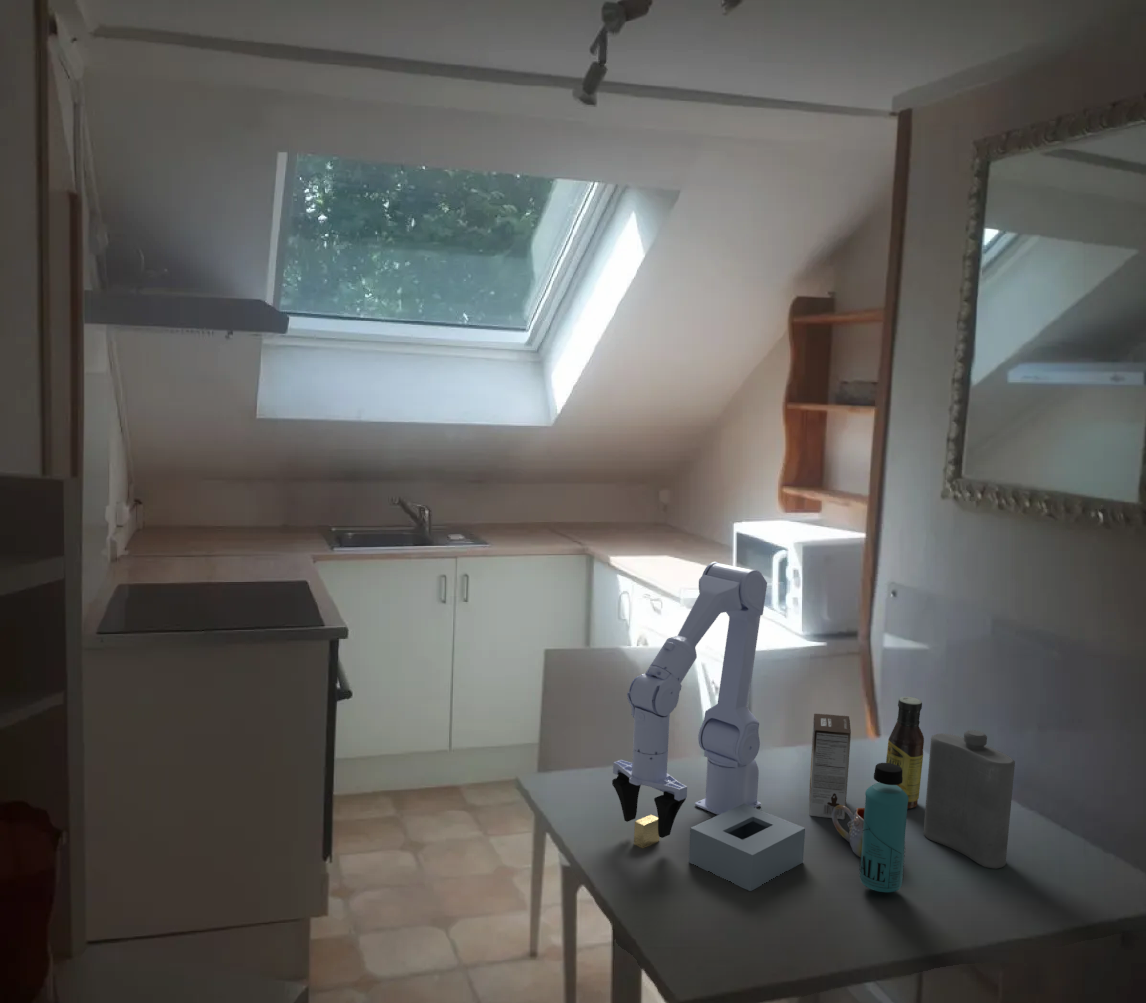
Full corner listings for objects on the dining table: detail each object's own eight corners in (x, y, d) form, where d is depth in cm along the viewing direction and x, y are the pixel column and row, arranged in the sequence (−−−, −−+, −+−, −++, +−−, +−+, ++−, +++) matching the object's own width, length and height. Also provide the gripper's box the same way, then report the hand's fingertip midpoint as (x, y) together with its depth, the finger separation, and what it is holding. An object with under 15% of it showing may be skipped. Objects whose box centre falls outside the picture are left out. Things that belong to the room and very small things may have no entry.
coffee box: (807, 795, 192) (813, 712, 190) (843, 799, 191) (849, 715, 189) (808, 816, 183) (814, 729, 181) (846, 820, 182) (852, 732, 180)
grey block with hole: (742, 836, 175) (744, 803, 174) (803, 862, 166) (805, 828, 165) (688, 862, 165) (690, 827, 164) (750, 891, 156) (752, 855, 156)
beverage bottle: (902, 885, 160) (912, 761, 157) (901, 906, 153) (911, 777, 151) (859, 877, 162) (867, 754, 159) (855, 898, 156) (865, 770, 153)
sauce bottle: (877, 796, 193) (885, 693, 190) (910, 796, 193) (918, 693, 190) (891, 811, 186) (899, 704, 183) (924, 811, 187) (933, 704, 184)
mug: (901, 858, 169) (905, 819, 168) (872, 867, 165) (875, 827, 165) (847, 828, 179) (850, 791, 178) (818, 836, 176) (821, 799, 175)
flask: (1015, 863, 168) (1026, 745, 165) (992, 872, 165) (1003, 751, 162) (939, 827, 181) (949, 716, 178) (917, 834, 178) (926, 721, 175)
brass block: (650, 837, 174) (651, 814, 173) (659, 841, 172) (660, 818, 172) (633, 844, 171) (634, 821, 170) (642, 848, 169) (643, 825, 169)
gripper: (601, 741, 172) (598, 819, 173) (668, 767, 161) (664, 850, 163) (630, 731, 176) (627, 807, 178) (697, 756, 166) (692, 837, 168)
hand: (646, 827), depth 171 cm, fingers open, 7 cm apart
